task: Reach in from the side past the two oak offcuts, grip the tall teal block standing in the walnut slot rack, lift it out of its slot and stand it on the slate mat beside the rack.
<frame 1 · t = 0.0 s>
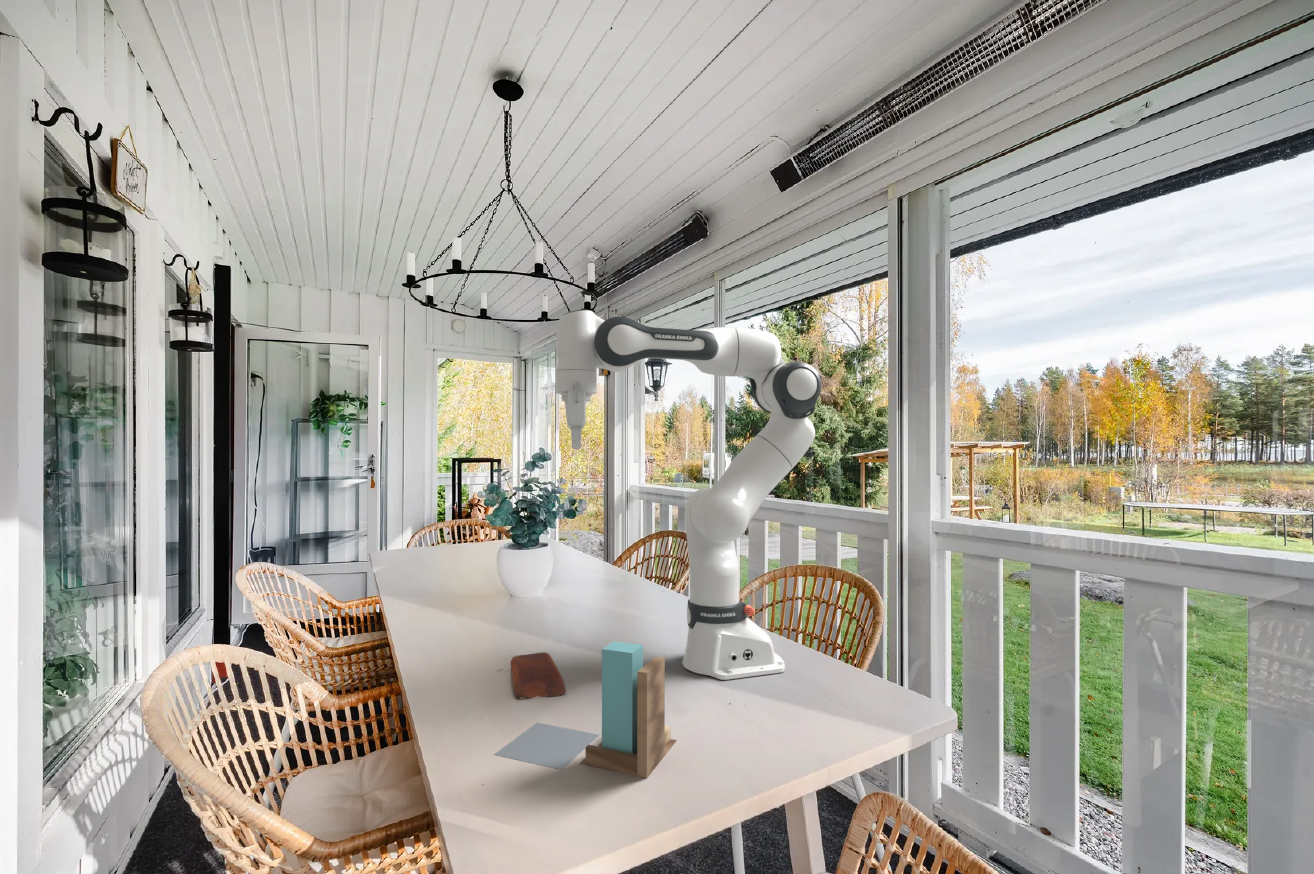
hand: (576, 449, 135), 48 cm above the table, fingers open, 8 cm apart
wooden tablet: (536, 677, 133), on the table
walnut rack: (622, 766, 94), on the table
slate mat: (548, 750, 99), on the table
tall teal block: (622, 759, 94), point 1 cm above the table, touching walnut rack
upper oak offcut: (639, 728, 100), point 3 cm above the table, touching lower oak offcut
lower oak offcut: (639, 741, 100), point 1 cm above the table, touching upper oak offcut, walnut rack
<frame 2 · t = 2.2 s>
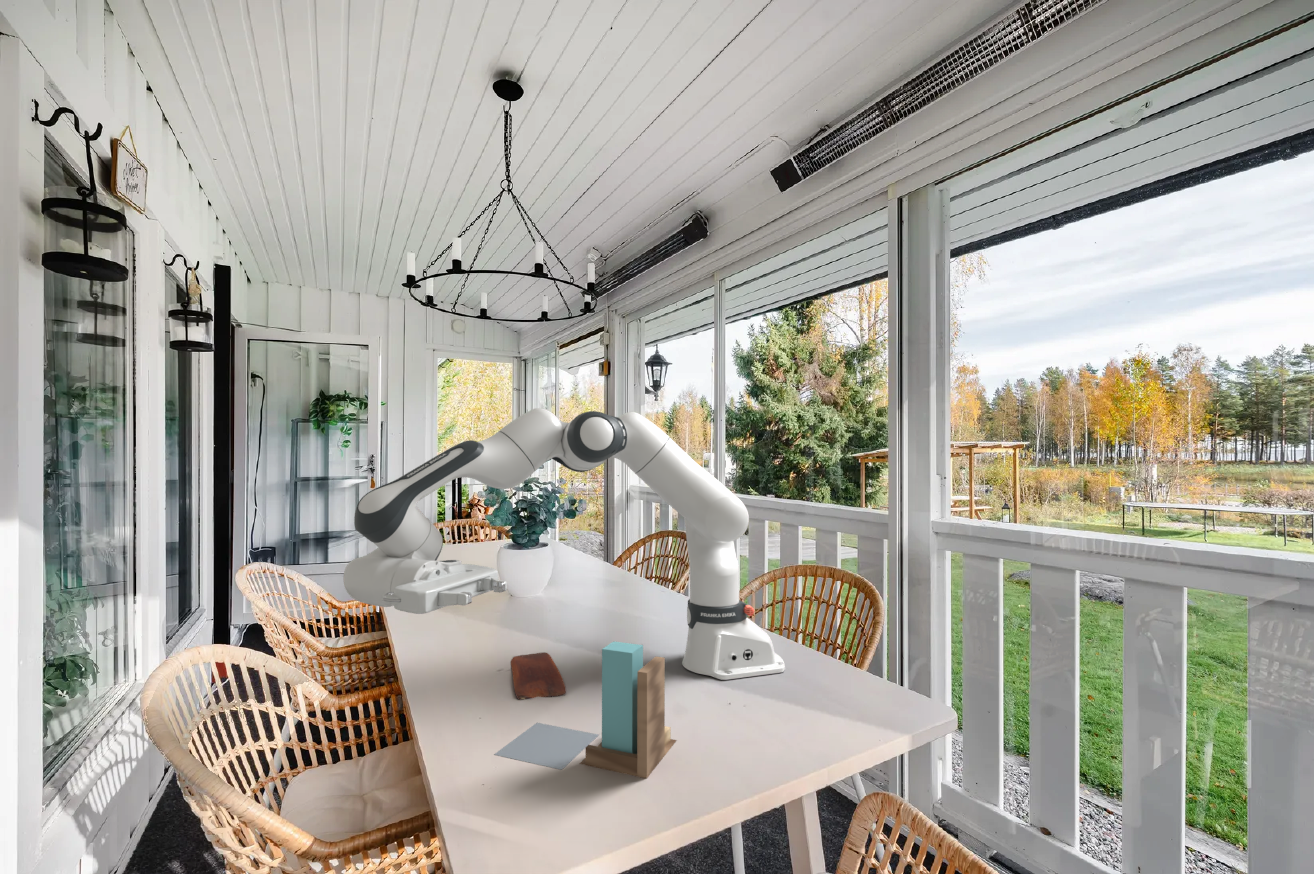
hand: (487, 592, 104), 24 cm above the table, fingers open, 8 cm apart
nothing on the table moved.
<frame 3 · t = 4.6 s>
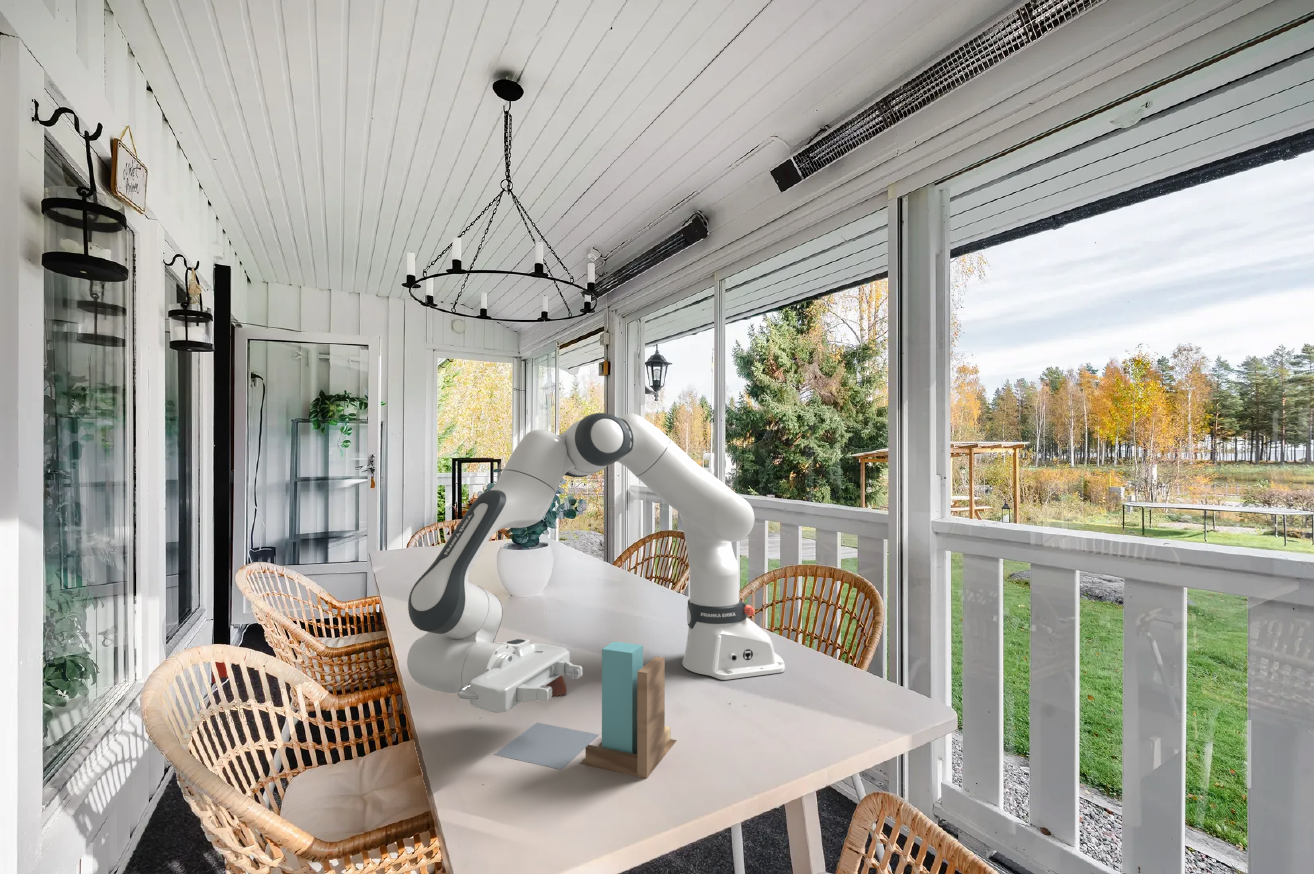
hand: (565, 683, 98), 11 cm above the table, fingers open, 8 cm apart
nothing on the table moved.
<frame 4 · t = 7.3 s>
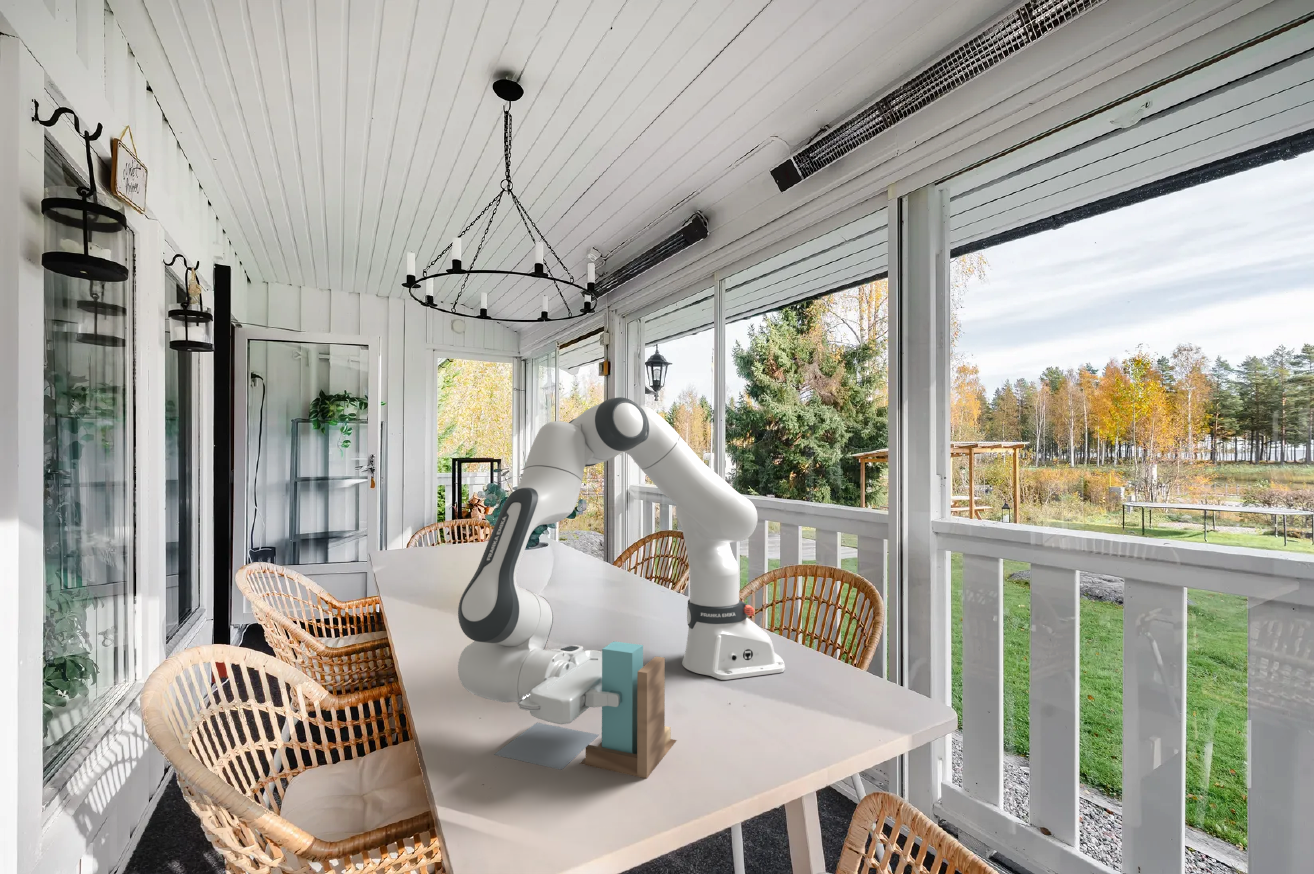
hand: (627, 692, 94), 11 cm above the table, fingers closed on tall teal block, 4 cm apart
tall teal block: (622, 759, 94), point 1 cm above the table, touching gripper, walnut rack
everything else where it was.
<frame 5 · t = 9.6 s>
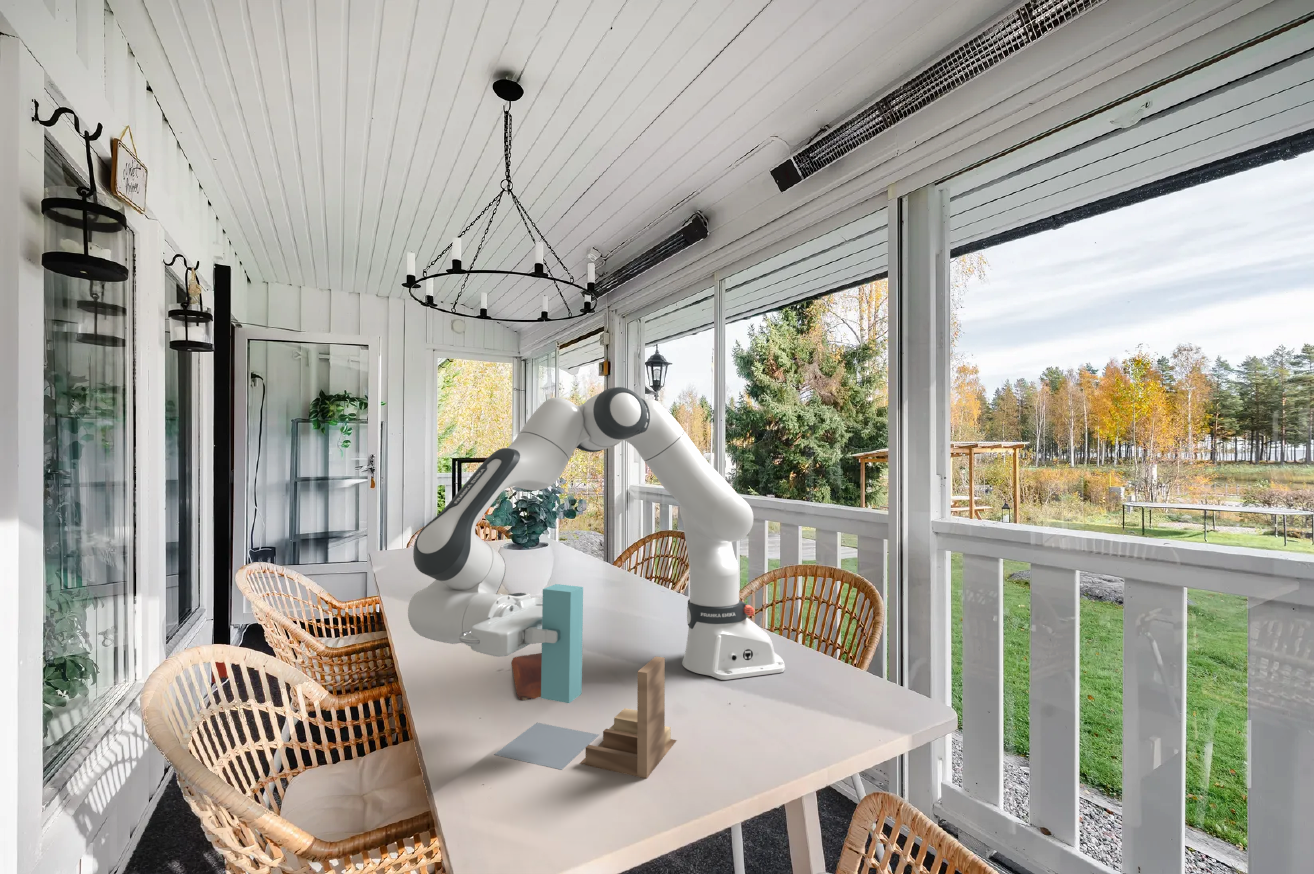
hand: (567, 631, 98), 19 cm above the table, fingers closed on tall teal block, 4 cm apart
tall teal block: (561, 695, 98), point 9 cm above the table, touching gripper
everything else where it was.
when the fingers open (13 cm above the table, at t = 12.1 s): tall teal block drops 1 cm, resting on slate mat.
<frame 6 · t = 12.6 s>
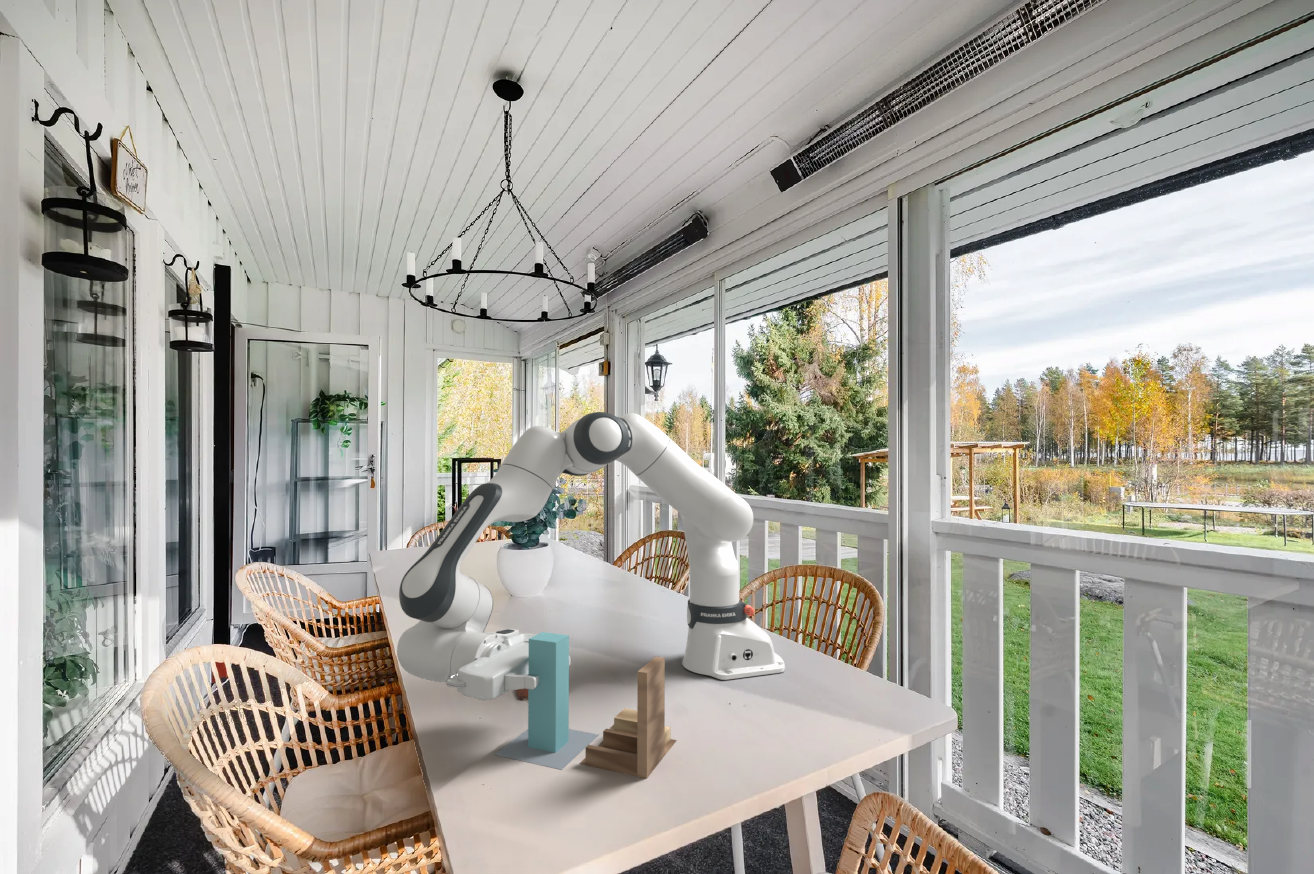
hand: (553, 671, 99), 13 cm above the table, fingers open, 8 cm apart
tall teal block: (548, 743, 99), point 1 cm above the table, touching slate mat
everything else where it was.
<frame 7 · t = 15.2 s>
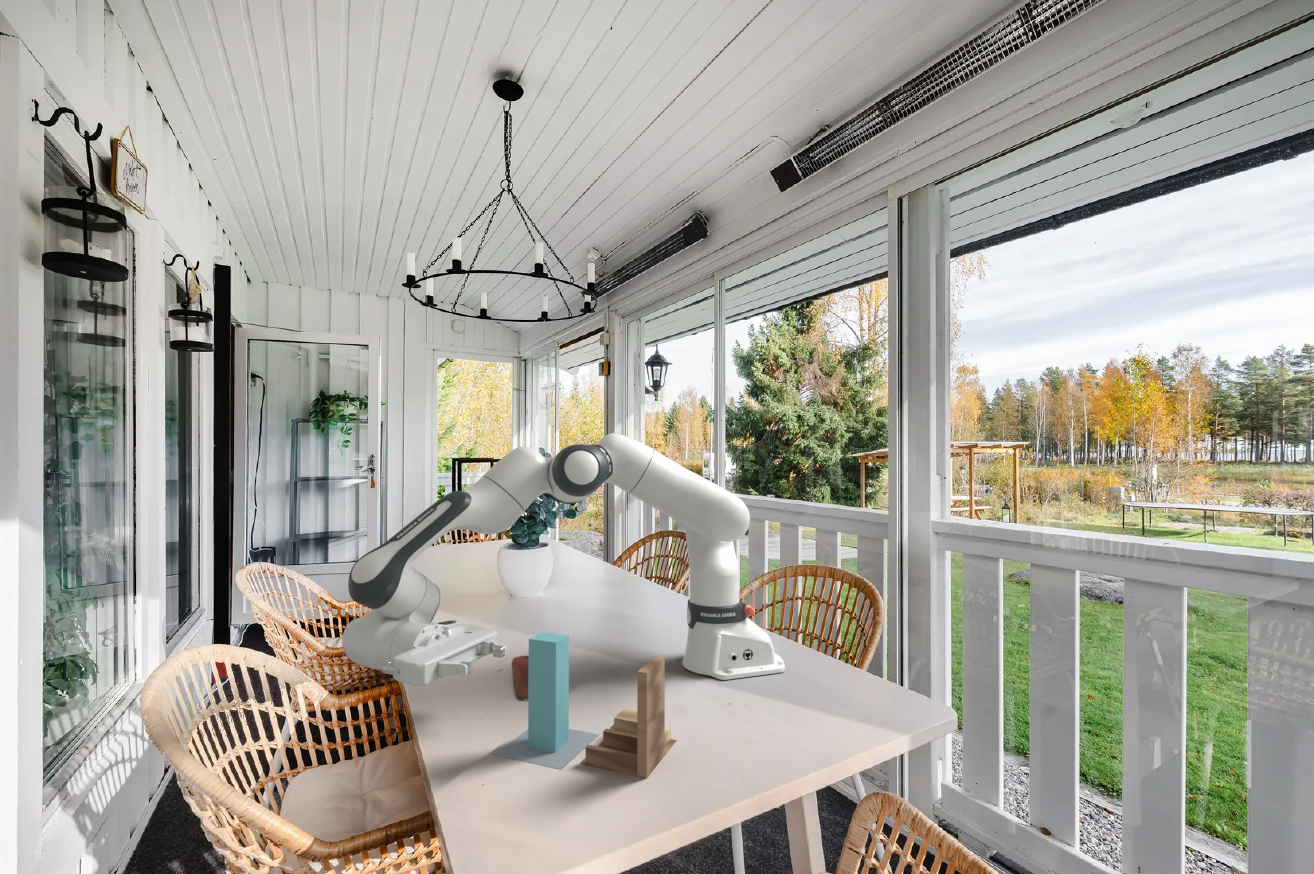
hand: (487, 660, 104), 13 cm above the table, fingers open, 8 cm apart
nothing on the table moved.
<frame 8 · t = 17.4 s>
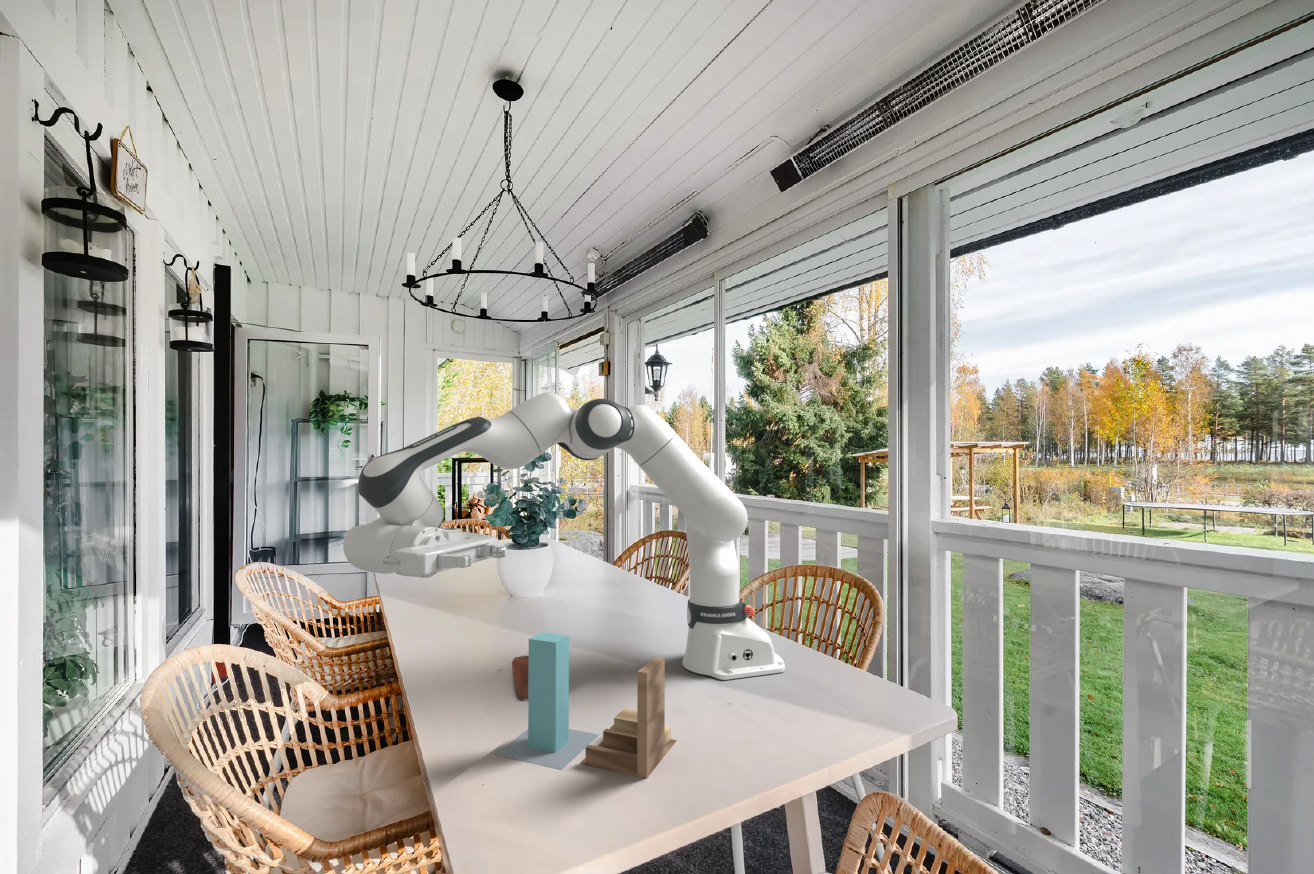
hand: (487, 557, 104), 30 cm above the table, fingers open, 8 cm apart
nothing on the table moved.
at the end: tall teal block inside the target area on the slate mat (0.0 cm from its centre), point 1.0 cm above the slate mat's base; tall teal block tilted 0°; the gripper is holding nothing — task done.
